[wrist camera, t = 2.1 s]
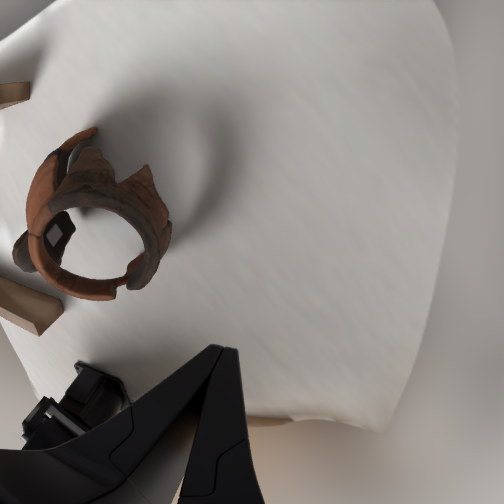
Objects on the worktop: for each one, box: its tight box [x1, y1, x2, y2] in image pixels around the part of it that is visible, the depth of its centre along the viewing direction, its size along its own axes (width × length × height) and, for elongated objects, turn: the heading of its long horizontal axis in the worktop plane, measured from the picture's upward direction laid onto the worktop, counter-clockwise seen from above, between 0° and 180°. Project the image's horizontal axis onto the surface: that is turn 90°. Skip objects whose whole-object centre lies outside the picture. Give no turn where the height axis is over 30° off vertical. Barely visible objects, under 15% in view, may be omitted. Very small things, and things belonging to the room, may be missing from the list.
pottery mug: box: [12, 127, 172, 301], centre depth 16 cm, size 12×10×8 cm
